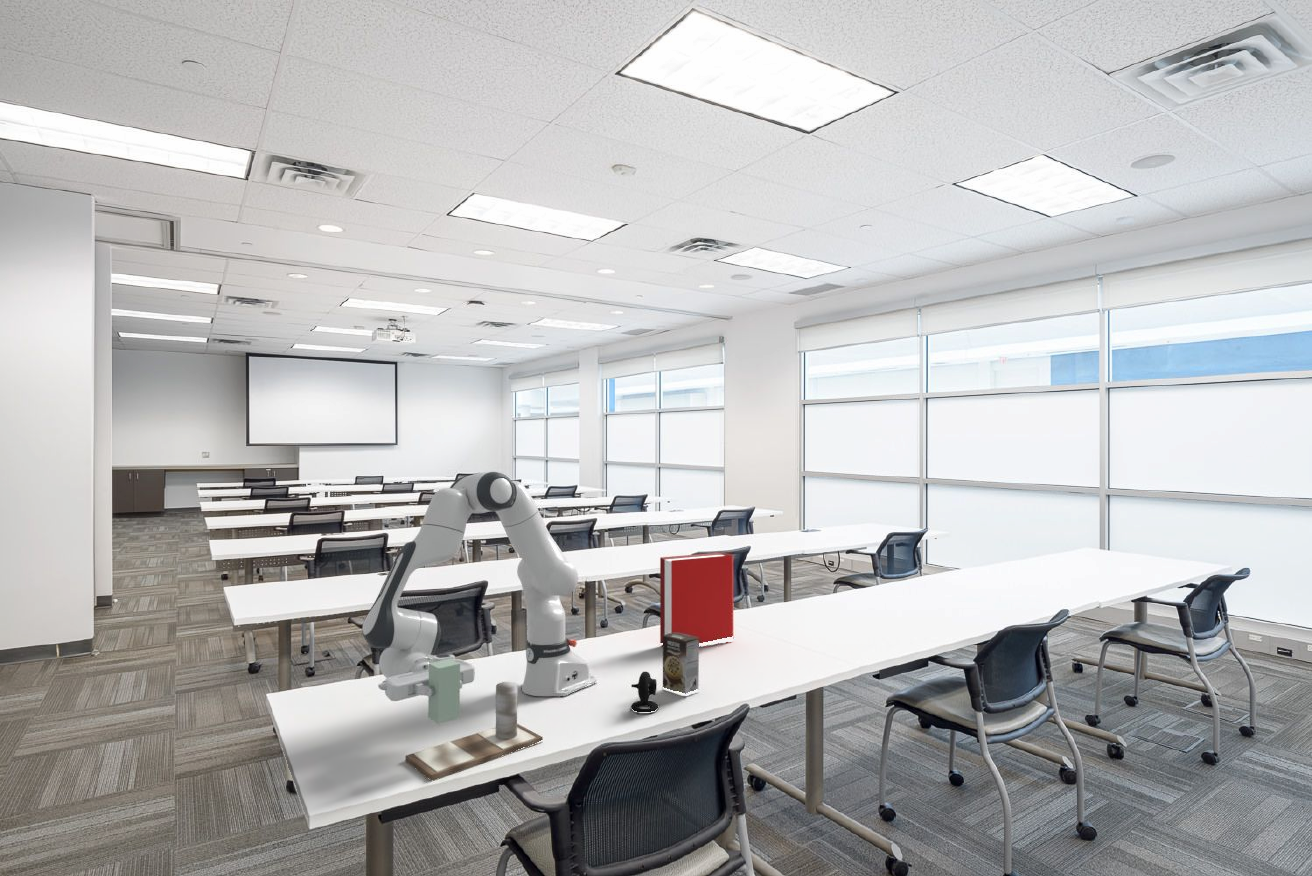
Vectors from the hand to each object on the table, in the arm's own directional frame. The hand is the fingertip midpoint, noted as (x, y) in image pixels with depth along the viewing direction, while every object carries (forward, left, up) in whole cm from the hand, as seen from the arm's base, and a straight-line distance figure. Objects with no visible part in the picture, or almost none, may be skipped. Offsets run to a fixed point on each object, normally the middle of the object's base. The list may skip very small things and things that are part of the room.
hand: (446, 689), depth 151 cm
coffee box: (-71, +4, -17) cm, 73 cm away
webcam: (-54, +7, -17) cm, 57 cm away
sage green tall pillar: (0, -1, -6) cm, 7 cm away
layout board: (-8, -1, -16) cm, 18 cm away
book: (-111, -26, -17) cm, 115 cm away
